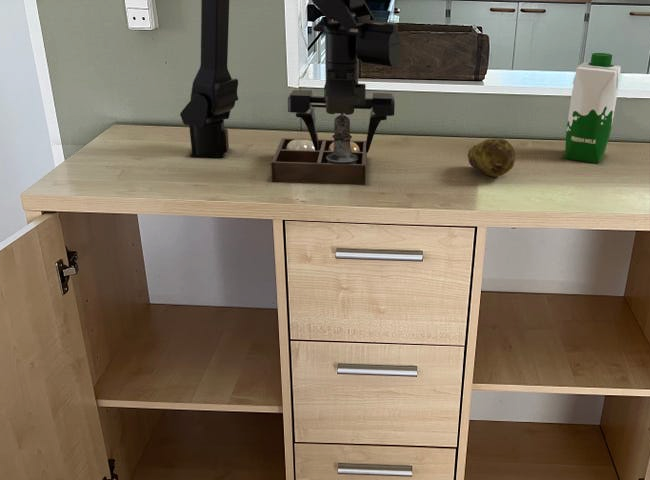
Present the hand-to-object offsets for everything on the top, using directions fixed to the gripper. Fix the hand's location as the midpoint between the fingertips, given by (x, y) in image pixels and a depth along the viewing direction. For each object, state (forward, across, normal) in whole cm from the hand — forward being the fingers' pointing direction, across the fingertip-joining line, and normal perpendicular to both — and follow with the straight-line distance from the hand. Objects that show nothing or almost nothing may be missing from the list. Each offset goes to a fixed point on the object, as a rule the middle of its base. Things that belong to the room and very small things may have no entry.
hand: (341, 151), depth 139 cm
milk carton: (+5, +50, +19) cm, 54 cm away
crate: (+5, -4, +4) cm, 7 cm away
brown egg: (+5, 0, +8) cm, 9 cm away
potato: (+5, +28, +2) cm, 29 cm away
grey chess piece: (+5, 0, 0) cm, 5 cm away
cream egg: (+5, -8, +8) cm, 12 cm away
